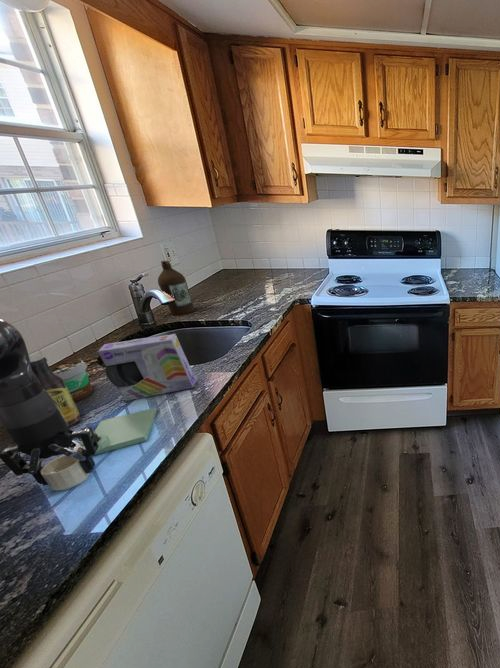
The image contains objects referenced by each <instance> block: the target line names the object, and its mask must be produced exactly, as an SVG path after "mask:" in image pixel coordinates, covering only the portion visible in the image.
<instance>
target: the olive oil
mask: <svg viewBox="0 0 500 668" xmlns="http://www.w3.org/2000/svg"><path fill="white" fill-rule="evenodd" d="M160 264H161V268H162V271H161V273H160V274H159V275H158V277H157V284H158V286H159V288H160V291H161V290H162V291H165V292H166V293H168V294H170V295H172V296H174V297H175V301H174V302H173V303H169V304H167V307H168V309H169V312H170V314H171V315H173V316H180V315H187V314H189V313H192V312H194V311H195V307H194V304H193V301H192V298H191V297H192V296H191V294H190V291H189V290H190V289H189V286H188V283H187V280H186V277H185V276H184V275H183V274H182V272H179V271H177V270H176V269H174V268H173V267H172V264H171V263H170V260H169V259H166V260H165V259H164V260H161V261H160ZM162 291H161V292H162Z"/></svg>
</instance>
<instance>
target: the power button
mask: <svg viewBox="0 0 500 668" xmlns="http://www.w3.org/2000/svg"><path fill="white" fill-rule="evenodd" d="M94 432H95V431H93V433H94ZM94 436H95V438H96V441H97V442H98V441H100V439H99V437H98V436H97V434H96V433H94Z"/></svg>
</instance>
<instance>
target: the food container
mask: <svg viewBox="0 0 500 668" xmlns="http://www.w3.org/2000/svg"><path fill="white" fill-rule="evenodd" d="M78 360H79V361H78V362H76V363H73V364H70V365H67V366H64V367H60V368H57V369H55V370H53V371H52V372H53V373H54V374H56V375H58V376H60V377H61V378H62V380H63V382H64V384H65V386H66V387H67V389H68V391H69V393H70V395H71V397H72V399H73V401H74V403H75V402H77V401H78V402H79V401H80V400H83V399H84V398H86V397H88V396H90V395H91V394H92V393H93V390H94V389H93V387H92V384H91V381H90V379H89V376H88V372H87V368H88V364H86V363H85V361H83V360H82V359H81V358H79V359H78Z"/></svg>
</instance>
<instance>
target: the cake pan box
mask: <svg viewBox="0 0 500 668" xmlns="http://www.w3.org/2000/svg"><path fill="white" fill-rule="evenodd" d="M97 353H98V355H99V357H100V358H101V361H102V362H103V364H104V365H105V368H104V369H105V374H106V377H107V379H108V380H109V382H110V383H111V384H112V385H114V387H116V388H117V389H118V391H119V393H120V394H121V396H122V398H123V400H124V401H125V402H126V401H132V400H138V399H143V398H147V397H152V396H153V397H154V396H157V395H163V394H168V393H173V392H179V391H184V390H188V389H193V388H194V386H195V385H196V383H197V379H196V376H195V374H194V372H193V370H192V367H191V366H190V363H189V361H188V358H187V356H186V354H185V352H184V350H183V347H182V345H181V343H180V341H179V339H178V336H177V334H176V333H172V334H166V335H159V336H158V335H157V336H151V337H141V338H134V339H131V340H124V341H117V342H110V343H104V344H103V345H102V346H101V347H100V348H99V349H98V350H97Z"/></svg>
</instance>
